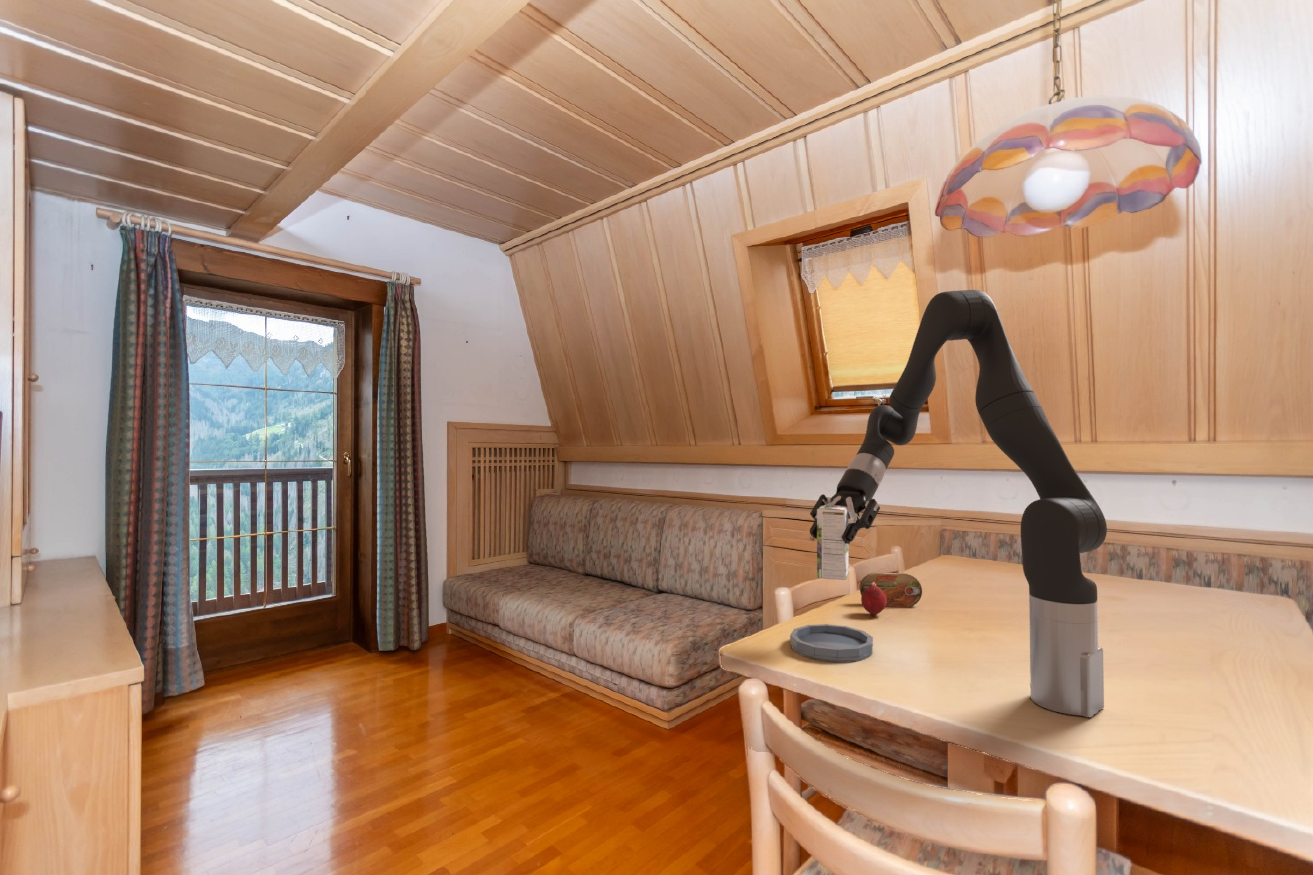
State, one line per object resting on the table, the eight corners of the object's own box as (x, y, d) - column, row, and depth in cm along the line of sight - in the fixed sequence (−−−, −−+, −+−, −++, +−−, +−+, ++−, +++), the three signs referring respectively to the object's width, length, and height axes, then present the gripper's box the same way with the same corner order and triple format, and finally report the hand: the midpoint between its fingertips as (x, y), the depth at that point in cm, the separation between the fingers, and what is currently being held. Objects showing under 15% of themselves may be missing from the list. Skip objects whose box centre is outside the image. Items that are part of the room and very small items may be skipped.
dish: (888, 649, 126) (888, 637, 126) (839, 668, 116) (839, 655, 116) (824, 631, 139) (824, 619, 139) (775, 646, 129) (775, 634, 129)
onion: (888, 619, 147) (888, 585, 147) (863, 618, 148) (862, 585, 148) (884, 612, 153) (884, 580, 153) (860, 611, 154) (859, 579, 154)
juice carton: (821, 572, 132) (819, 504, 132) (849, 574, 130) (848, 505, 130) (816, 578, 127) (815, 507, 127) (846, 580, 125) (845, 508, 125)
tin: (860, 606, 159) (860, 573, 159) (858, 603, 162) (858, 570, 162) (922, 608, 156) (922, 574, 156) (919, 604, 160) (919, 572, 160)
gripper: (826, 466, 138) (792, 523, 132) (884, 468, 127) (850, 531, 120) (841, 488, 142) (809, 545, 135) (899, 492, 130) (866, 555, 123)
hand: (828, 538), depth 127 cm, fingers closed on juice carton, 7 cm apart
